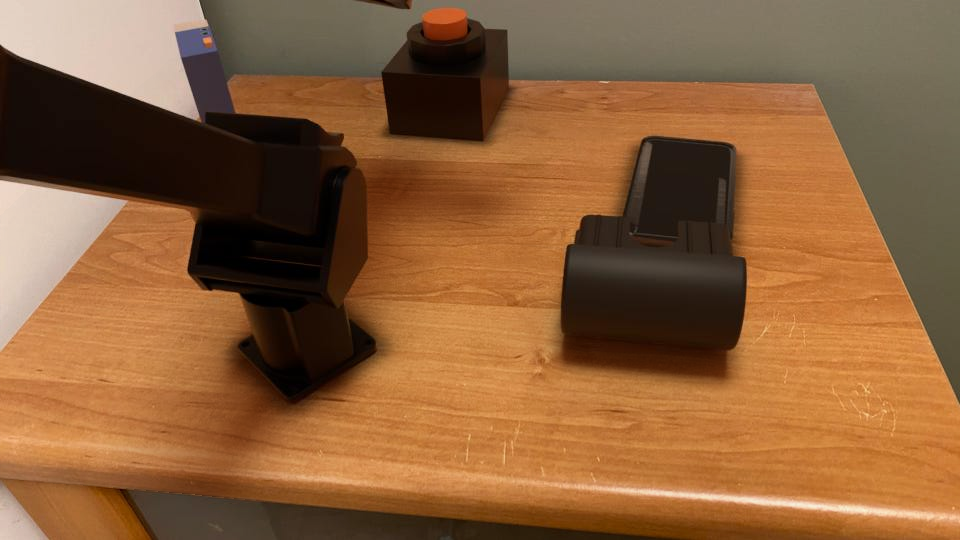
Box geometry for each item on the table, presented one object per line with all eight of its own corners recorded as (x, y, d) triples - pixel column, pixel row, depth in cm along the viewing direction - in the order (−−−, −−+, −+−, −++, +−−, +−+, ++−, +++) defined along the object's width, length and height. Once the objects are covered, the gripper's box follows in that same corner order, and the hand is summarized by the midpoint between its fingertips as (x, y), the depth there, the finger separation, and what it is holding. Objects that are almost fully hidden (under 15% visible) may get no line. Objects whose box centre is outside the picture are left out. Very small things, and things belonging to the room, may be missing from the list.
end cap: (558, 362, 44) (560, 276, 40) (570, 287, 50) (573, 204, 45) (730, 380, 42) (751, 292, 38) (722, 300, 48) (741, 215, 43)
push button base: (483, 142, 66) (479, 57, 61) (389, 134, 68) (378, 51, 63) (509, 89, 74) (507, 10, 69) (424, 84, 76) (416, 7, 71)
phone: (617, 234, 52) (643, 133, 63) (616, 247, 53) (641, 145, 64) (733, 249, 50) (738, 142, 61) (730, 262, 51) (736, 154, 62)
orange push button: (461, 44, 64) (460, 24, 63) (418, 42, 65) (416, 22, 64) (472, 27, 67) (471, 8, 66) (431, 25, 68) (429, 6, 67)
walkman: (255, 181, 62) (216, 45, 55) (222, 189, 62) (178, 52, 54) (242, 141, 68) (205, 13, 61) (212, 148, 67) (171, 19, 60)
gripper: (503, -271, 39) (540, -96, 54) (198, -255, 43) (311, -97, 59) (475, -76, 38) (521, 47, 53) (165, -79, 42) (289, 36, 58)
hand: (406, 2), depth 56 cm, fingers closed
